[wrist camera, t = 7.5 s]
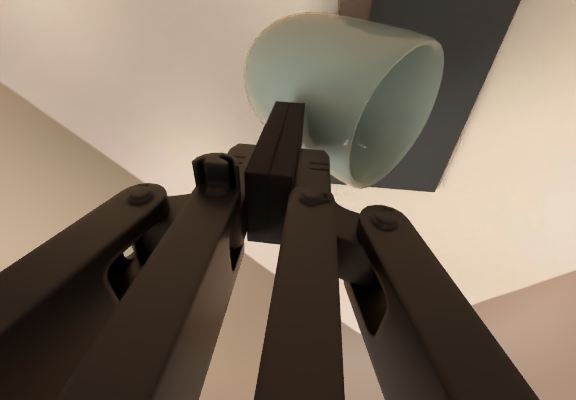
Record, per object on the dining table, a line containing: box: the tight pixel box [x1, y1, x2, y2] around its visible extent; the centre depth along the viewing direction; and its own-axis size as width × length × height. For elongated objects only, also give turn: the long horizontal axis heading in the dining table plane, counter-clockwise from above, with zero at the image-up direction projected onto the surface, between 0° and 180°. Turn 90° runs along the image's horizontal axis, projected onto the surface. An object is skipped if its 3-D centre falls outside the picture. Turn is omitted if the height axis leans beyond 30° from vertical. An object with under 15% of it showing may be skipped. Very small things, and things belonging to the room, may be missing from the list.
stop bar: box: [337, 0, 373, 20], centre depth 21 cm, size 2×16×2 cm, turn 178°
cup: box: [244, 12, 444, 189], centre depth 17 cm, size 8×8×10 cm
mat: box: [330, 0, 521, 192], centre depth 21 cm, size 10×22×1 cm, turn 178°
